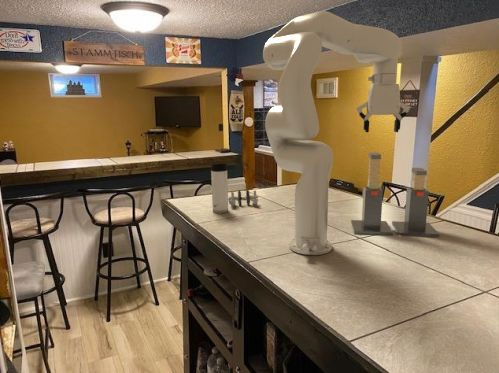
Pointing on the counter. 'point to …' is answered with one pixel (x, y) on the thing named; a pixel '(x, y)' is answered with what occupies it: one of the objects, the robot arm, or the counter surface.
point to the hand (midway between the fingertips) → (381, 132)
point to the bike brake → (248, 197)
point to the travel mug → (219, 187)
